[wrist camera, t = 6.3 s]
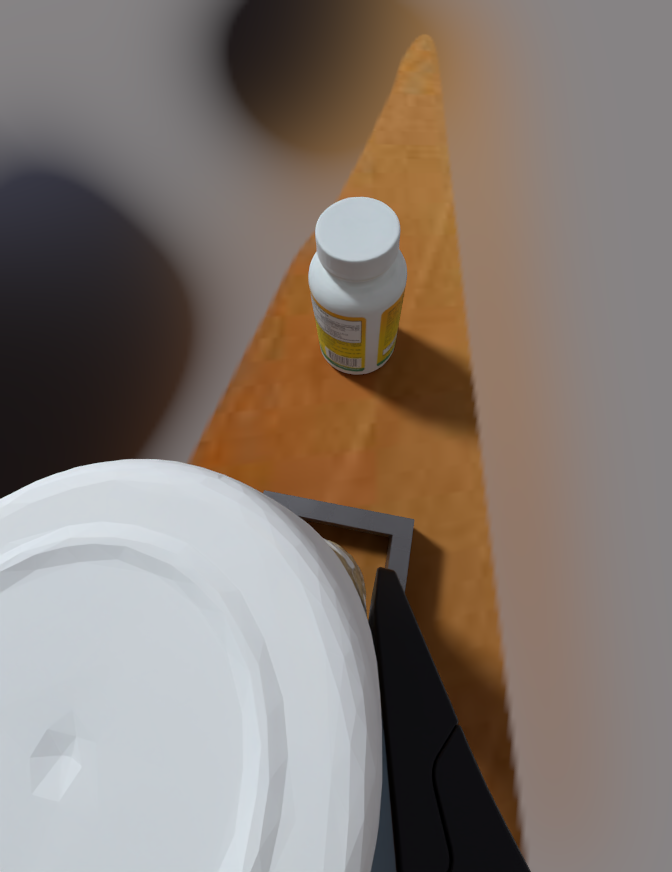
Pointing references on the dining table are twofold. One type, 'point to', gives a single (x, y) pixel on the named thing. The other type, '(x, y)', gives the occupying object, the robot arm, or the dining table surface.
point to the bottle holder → (358, 526)
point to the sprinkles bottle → (181, 680)
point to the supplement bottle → (357, 284)
